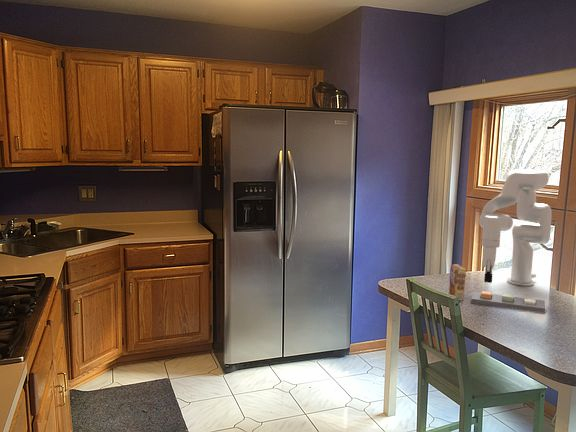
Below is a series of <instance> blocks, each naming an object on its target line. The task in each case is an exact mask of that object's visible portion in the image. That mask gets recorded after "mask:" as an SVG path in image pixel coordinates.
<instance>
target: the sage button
mask: <svg viewBox="0 0 576 432" xmlns="http://www.w3.org/2000/svg"><path fill="white" fill-rule="evenodd" d="M502 295H503V296H502V301H509V302H513V297H514V294H509V293H502Z"/></svg>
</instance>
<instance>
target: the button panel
mask: <svg viewBox="0 0 576 432" xmlns="http://www.w3.org/2000/svg"><path fill="white" fill-rule="evenodd" d="M481 292H482V291H481ZM481 292H479V291H473V293H472V294H471V299H470V303H471V304H477V305H483V306H484V305H485V306H489V307H490V306H491V307H498V308H503V309H504V308H507V309H513V310H518V311H519V310H520V311H527V312H535V313H543V314H546V303H545V302H546V301H545V300H541V299H533V298H532V299H533V300H535V301H536V304H535V305H532V304H524V298H525V297H518V296H513V302H509V301H502V296H503V294H494V293H492V298H491V299H487V298H481ZM525 299H528V298H525Z"/></svg>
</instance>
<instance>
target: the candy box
mask: <svg viewBox="0 0 576 432" xmlns="http://www.w3.org/2000/svg"><path fill="white" fill-rule="evenodd" d="M449 270H450V271H449V285H448V295H449V294H451V295H454V296H456V297H458V298H459V300H460V302H461V301H464V300H465V299H464V297H465V289H466V288H465V285H466V274H467V269H466V268H465V267H463V266H461V265H460V264H455V263H454V264H450V269H449Z"/></svg>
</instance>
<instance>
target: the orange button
mask: <svg viewBox="0 0 576 432" xmlns="http://www.w3.org/2000/svg"><path fill="white" fill-rule="evenodd" d="M492 294H493V292H492V291H486V290H485V291H484V290H482V291H481V298H487V299H491V298H492Z"/></svg>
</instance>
